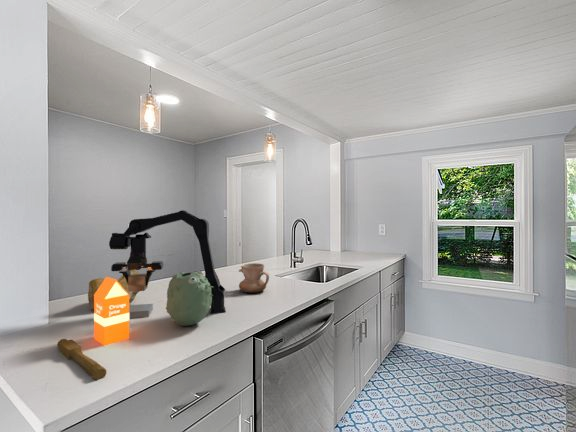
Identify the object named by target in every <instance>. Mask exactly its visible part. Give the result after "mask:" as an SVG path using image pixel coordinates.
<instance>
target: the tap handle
mask: <svg viewBox="0 0 576 432" xmlns="http://www.w3.org/2000/svg"><path fill="white" fill-rule="evenodd" d="M56 345H57V348H58V349H59V353H61V355H62V356H64V358H66V359H67V360H69V361H70V360H72V361H76V362H77V363H78V364H79V365H80V366H81V367H82V368H83V369H84V371H86V372H87V374H88V375H89V376H91V377H92V378H93V379H94V380H95V381H98V380H101V379H104V378H105V377H106V375H107V369H106V368H105V367H104V366H102V365H101V364H99V362H97V361H96V360H94V359H92V358H91V357H89V356H88V355H85V354H84V353H83V351H82V346H81V345H80V344H79V343H77V342H76V341H75V340H73V339H67V338H61V339H60V340H58V342H57V344H56Z"/></svg>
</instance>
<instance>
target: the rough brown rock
mask: <svg viewBox="0 0 576 432" xmlns="http://www.w3.org/2000/svg"><path fill="white" fill-rule="evenodd" d="M130 272H131V274H140V273H139V272H138V270H130ZM104 280H105V278H102V277H100V278H93V279H91V280H90V281H89V283H88V292H87V301H88V306H89V308H90V309H91V310H94V294H95V293H96V291H97V290H98V288H99V287H100V286H101V284H102V283H103V281H104ZM116 280H117V281H118V283H119V284H120V285H121V286H122V287H123V289H124V290H125V291H126V292H127V293H128V294H129V304H130V303H132V302H134V301H135V299H136V296H137V294H139V292H140V291H131V292H128V284H127V281H126V279H125V277H124V275H123V274H122V276H120V277H119V278H118V279H116Z"/></svg>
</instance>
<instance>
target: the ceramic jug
mask: <svg viewBox="0 0 576 432" xmlns="http://www.w3.org/2000/svg"><path fill="white" fill-rule="evenodd" d="M264 269H265V265H264V264H263V263H257V262H255V263H254V262H253V263H252V262H251V263H244V264H241V267H240V268H239V269H238V272H239V273H242V274H243V276H244V277H243V278H244V279H243V280H241V281H240V282H239V284H238V288H239V290H241V291H242V292H244V293H246V294H248V293H249V294H254V293H261V292H263V291H264V290H266V288H267V285H268V283H269V281H270V275H269V273H268V272H267V271H264ZM263 275H265V277H266V279H265V281H264V280H262V278H261V277H262V276H263Z"/></svg>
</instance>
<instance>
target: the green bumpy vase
mask: <svg viewBox="0 0 576 432" xmlns="http://www.w3.org/2000/svg"><path fill="white" fill-rule="evenodd" d="M211 288H213V286H210V283H209V282H208V280H207V278H206V277H205V275H204V273H203V271H201V270H198V271H196V272H194V271H193V272H192V271H190V272H183V271H181V272H179V273H175V274H174V275H172V277H171V279H170V280H169V282H168V288H167V290H166V307H165V310H166V311H167V314H168V315H169V316H170V318H171V319H172V320H173V321H174V322H175V323H177V324H178V325H181V326H184V327H188V326H193V325H196V324H198V323H200V322H201V321H203V320H204V319H205V318H206V316H207V315H208V313H209V312H210V308H211V303H212V296H213V295H212V294H211Z"/></svg>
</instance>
